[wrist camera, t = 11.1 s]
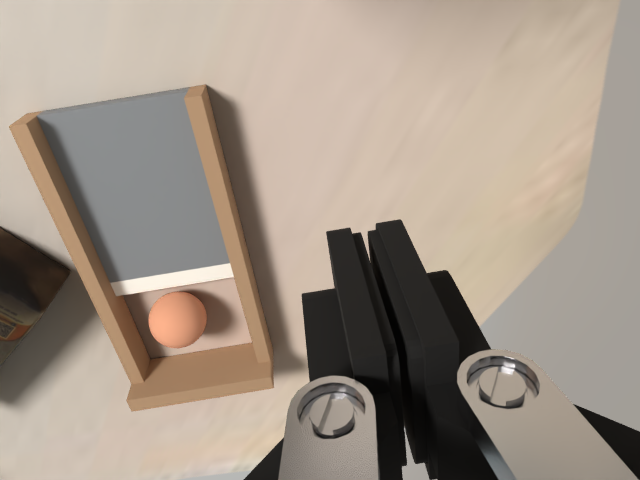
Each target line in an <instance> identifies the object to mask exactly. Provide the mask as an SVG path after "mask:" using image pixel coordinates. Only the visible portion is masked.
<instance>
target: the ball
mask: <svg viewBox="0 0 640 480" xmlns="http://www.w3.org/2000/svg"><path fill="white" fill-rule="evenodd" d="M206 321H207V316H206V311H205V308H204V306H203V304H202V303H201V302H200V300H199V299H197V298H196V297H195V296H193V295H192V294H189V293H186V292H172V293H168V294H166V295H164V296H162V297H161V298H160V299H158V300H157V301H156V303H155V304H154V305H153V307H152V309H151V311H150V314H149V328H150V331H151V333H152V335H153V337H154V338H155V339H156V340H157V341H158V342H159V343H161V344H162V345H164V346H167V347H171V348H182V347H186V346H189V345H191V344H192V343H194V342H195V341H196V340H198V339H199V337H200V336H201V335H202V333H203V332H204V329H205V327H206Z"/></svg>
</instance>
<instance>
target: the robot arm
mask: <svg viewBox="0 0 640 480" xmlns="http://www.w3.org/2000/svg"><path fill="white" fill-rule="evenodd" d="M326 233H327V240H328V247H329V254H330V260H331V267H332V273H333V280H334V286H335V288H334V289H328V290H322V291H316V292H309V293H303V294H302V304H303V315H304V325H305V336H306V347H307V358H308V368H309V379H310V382H309V383H308V384H306V385H305V386H304V387H302V388H301V389H300V390H298V392H297V393H296V394H295V396H294V397H293V399H292V400H291V403H290V406H289V409H288V413H287V420H286V427H285V435H284V438H283V439H282V440H281V441H280V442H279V443H278V444H277V445H276V446H275V447H274V448H273V449H272V450H271V452H270V453H269V454H268V455H267V456H266V457H265V458H264V459H263V460H262V461H261V462H260V463H259V464H258V465H257V466H256V467H255V468H254V469H253V470H252V472H251V473H250V474H249V475H248V476H247V477H246V478H245V479H244V480H403V478H402V466H406V465H407V458H406V447H405V432H404V428H405V431H406V435H407V438H408V442H409V445H410V449H411V453H412V456H413V459H414V462H415V464H419V463H425V465H426V468H427V472H428V475H429V479H430V480H432V479H438V480H640V432H639V431H637V430H634V429H632V428H630V427H627V426H625V425H622V424H620V423H618V422H615V421H613V420H610V419H608V418H606V417H603V416H601V415H599V414H596V413H594V412H591V411H589V410H587V409H584V408H582V407H579V406H577V405H574V404H572V403H571V401H570V400H569V399H568V398H567V397H566V396H565V395H564V393H563V392H562V391H561V390H560V389H559V388H558V386H557V385H556V384H555V383H554V382H553V381H552V380H551V379H550V377H549V376H548V375H547V374H546V373H545V372H544V370H543V369H542V368H541V367H539V366H538V365H537V364H536V363H535V362H534V361H533V360H531V359H529V358H527V357H525V356H523V355H521V354H519V353H515V352H511V351H508V350H496V349H491V348H490V346H489V345H488V343H487V341H486V339H485V337H484V336H483V334H482V332H481V330H480V328H479V326H478V324H477V323H476V321H475V319H474V317H473V315H472V313H471V312H470V310H469V308H468V306H467V304H466V302H465V301H464V299H463V297H462V295H461V293H460V291H459V289H458V288H457V286H456V284H455V282H454V280H453V278H452V277H451V275H450V274H449V272H448V271H446V270H443V271H437V272H431V273H426V271H425V269H424V267H423V265H422V263H421V260H420V258H419V256H418V254H417V252H416V250H415V248H414V246H413V244H412V241H411V239H410V237H409V235H408V233H407V231H406V229H405V227H404V225H403V223H402V221H401V220H394V221H388V222H382V223H376V230H372V231H368V243H369V253H370V260H369V257H368V254H367V251H366V247H365V244H364V241H363V238H362V235H361V233H354V234H352V232H351V229H350V228H345V229H339V230H333V231H327V232H326ZM370 262H371V263H370Z"/></svg>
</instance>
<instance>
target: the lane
mask: <svg viewBox="0 0 640 480" xmlns="http://www.w3.org/2000/svg"><path fill="white" fill-rule="evenodd" d="M9 128H10V130H11V132H12V135H13V137H14V139H15V141H16V143H17V145H18V147H19V149H20V151H21V153H22V155H23V158H24V160H25V162H26V164H27V166H28V168H29V170H30V172H31V174H32V176H33V179H34V181H35V183H36V185H37V187H38V189H39V191H40V193H41V195H42V197H43V200H44V202H45V204H46V206H47V208H48V210H49V212H50V214H51V216H52V218H53V220H54V223H55V225H56V227H57V229H58V231H59V233H60V235H61V237H62V239H63V241H64V244H65V246H66V248H67V250H68V252H69V254H70V256H71V258H72V260H73V262H74V265H75V267H76V269H77V271H78V273H79V275H80V277H81V279H82V281H83V283H84V286H85V288H86V290H87V292H88V294H89V296H90V298H91V300H92V302H93V304H94V306H95V309H96V311H97V313H98V315H99V317H100V319H101V321H102V323H103V325H104V327H105V330H106V332H107V334H108V336H109V338H110V340H111V342H112V344H113V346H114V348H115V351H116V353H117V355H118V357H119V359H120V361H121V363H122V365H123V367H124V369H125V371H126V374H127V376H128V378H129V380H130V382H131V388H130V391H129V394H128V397H127V400H126V401H127V403H128V405H129V407H130V409H131V411H138V410H144V409H150V408H156V407H162V406H168V405H175V404H181V403H187V402H193V401H199V400H205V399H211V398H217V397H223V396H229V395H235V394H241V393H247V392H253V391H259V390H265V389H271V388H274V382H273V348H272V344H271V340H270V336H269V332H268V328H267V324H266V320H265V316H264V312H263V309H262V305H261V301H260V297H259V293H258V289H257V285H256V281H255V277H254V273H253V269H252V265H251V261H250V257H249V253H248V249H247V245H246V241H245V237H244V233H243V229H242V226H241V222H240V218H239V214H238V210H237V206H236V202H235V198H234V194H233V190H232V186H231V182H230V178H229V174H228V170H227V166H226V162H225V158H224V154H223V150H222V146H221V143H220V139H219V135H218V131H217V127H216V123H215V119H214V115H213V111H212V107H211V103H210V99H209V95H208V91H207V87H206V85H201V86H194V87H188V88H182V89H176V90H170V91H164V92H157V93H151V94H145V95H139V96H133V97H127V98H120V99H114V100H108V101H102V102H96V103H90V104H83V105H77V106H71V107H65V108H59V109H53V110H46V111H40V112H34V113H28V114H26V115H24V116H23V117H21V118H20V119H19V120H17V121H16V122H14V123H13V124H12V125H10V126H9ZM231 277H234V279H235V283H236V286H237V290H238V293H239V297H240V300H241V304H242V308H243V311H244V315H245V318H246V322H247V325H248V329H249V333H250V336H251V340H252V343H248V344H242V345H236V346H230V347H224V348H218V349H211V350H205V351H199V352H193V353H187V354H181V355H175V356H169V357H163V358H157V359H151V360H150V358H149V355H148V353H147V351H146V348H145V346H144V344H143V341H142V339H141V337H140V334H139V332H138V330H137V328H136V325H135V323H134V321H133V318H132V316H131V314H130V311H129V309H128V307H127V304H126V302H125V300H124V297H123V295H127V294H134V293H140V292H146V291H152V290H158V289H164V288H170V287H176V286H182V285H188V284H194V283H201V282H207V281H213V280H219V279H225V278H231Z"/></svg>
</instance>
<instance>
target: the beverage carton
mask: <svg viewBox="0 0 640 480" xmlns="http://www.w3.org/2000/svg"><path fill="white" fill-rule="evenodd" d="M69 274H70V270H68V269H66V268H65V267H63V266H61V265H60V264H58V263H57V262H55V261H53V260H51V259H49V258H48V257H46V256H44V255H43V254H41V253H40V252H38V251H36V250H35V249H33V248H31V247H30V246H29V245H28V244H26V243H24V242H22V241H20V240H19V239H17V238H15V237H14V236H13V235H11V234H9V233H7V232H5V231H4V230H2V229H1V228H0V366H1V365H2V364H3V362H4V361H5V360H6V359H7V358H8V357H9V355H10V354H11V353H12V352H13V351H14V349H15V348H16V347H17V346H18V345H19V343H20V342H21V341H22V340H23V339H24V338H25V336H26V335H27V334H28V333H29V331H30V330H31V329H32V328H33V327H34V325H35V324H36V323H37V322H38V320H39V319H40V318H41V317H42V315H43V314H44V312H45V311H46V309H47V308H48V306H49V305H50V303H51V302H52V300H53V299H54V297H55V296H56V294H57V293H58V291H59V290H60V288H61V287H62V285H63V283H64V282H65V280H66V278H67V277H68V275H69Z"/></svg>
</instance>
